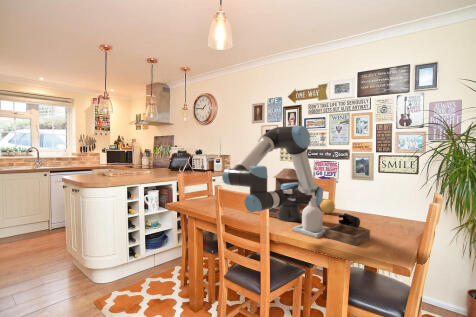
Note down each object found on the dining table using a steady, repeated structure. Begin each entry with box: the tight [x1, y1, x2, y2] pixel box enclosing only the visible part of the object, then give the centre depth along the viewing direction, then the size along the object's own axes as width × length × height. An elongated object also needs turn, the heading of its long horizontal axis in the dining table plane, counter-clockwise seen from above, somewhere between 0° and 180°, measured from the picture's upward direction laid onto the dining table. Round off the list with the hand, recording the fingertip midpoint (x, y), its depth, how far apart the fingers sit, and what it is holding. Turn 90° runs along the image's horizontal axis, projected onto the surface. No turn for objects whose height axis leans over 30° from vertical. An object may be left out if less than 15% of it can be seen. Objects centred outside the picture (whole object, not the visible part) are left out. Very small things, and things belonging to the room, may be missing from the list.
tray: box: [291, 224, 329, 239], centre depth 137 cm, size 15×15×2 cm
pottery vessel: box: [273, 168, 299, 191], centre depth 204 cm, size 26×26×30 cm
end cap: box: [338, 212, 361, 228], centre depth 147 cm, size 10×7×7 cm
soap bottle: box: [301, 188, 324, 232], centre depth 136 cm, size 10×10×23 cm
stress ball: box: [319, 198, 336, 215], centre depth 178 cm, size 10×10×10 cm
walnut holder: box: [324, 223, 371, 247], centre depth 127 cm, size 15×15×4 cm
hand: (302, 193), depth 128 cm, fingers open, 13 cm apart
